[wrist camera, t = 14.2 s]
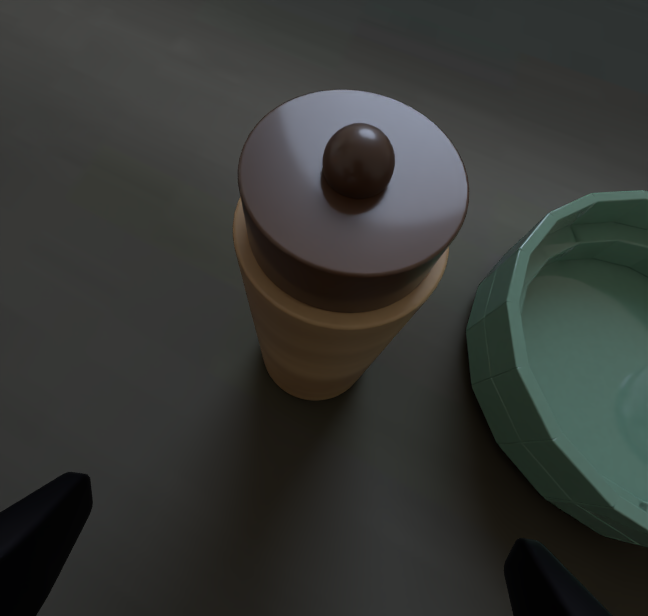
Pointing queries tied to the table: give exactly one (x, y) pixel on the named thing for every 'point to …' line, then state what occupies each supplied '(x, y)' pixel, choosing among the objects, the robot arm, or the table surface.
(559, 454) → the bowl
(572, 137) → the table surface
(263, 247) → the pepper mill
